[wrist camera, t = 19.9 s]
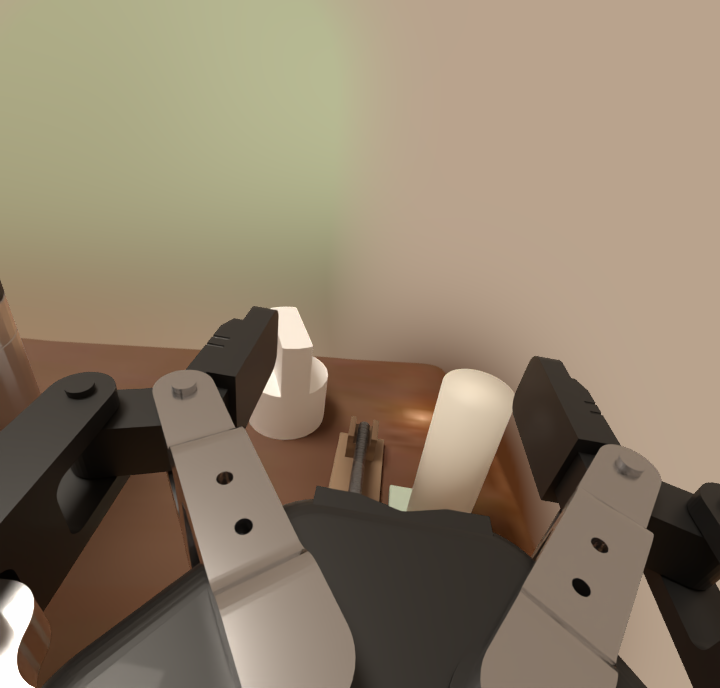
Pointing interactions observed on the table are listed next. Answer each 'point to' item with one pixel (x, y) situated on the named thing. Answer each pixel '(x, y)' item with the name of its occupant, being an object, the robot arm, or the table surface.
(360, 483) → the metal rod
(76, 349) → the table surface
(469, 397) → the tall cream cylinder
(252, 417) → the cylinder with rectangular tab
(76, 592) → the table surface
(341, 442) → the rail stand
